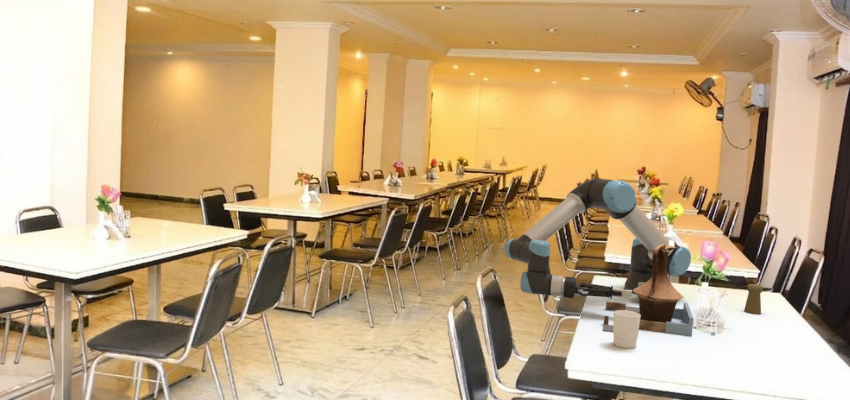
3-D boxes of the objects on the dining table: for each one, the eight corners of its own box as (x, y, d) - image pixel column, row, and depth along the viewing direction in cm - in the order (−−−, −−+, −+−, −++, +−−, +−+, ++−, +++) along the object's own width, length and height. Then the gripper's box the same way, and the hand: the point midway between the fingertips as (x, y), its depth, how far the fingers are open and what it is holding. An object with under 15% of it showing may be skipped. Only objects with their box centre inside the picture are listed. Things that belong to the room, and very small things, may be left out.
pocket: (665, 332, 235) (667, 315, 235) (662, 316, 259) (663, 299, 258) (691, 336, 233) (693, 318, 232) (685, 318, 256) (687, 302, 256)
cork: (757, 311, 277) (760, 283, 276) (763, 314, 271) (766, 286, 270) (741, 309, 277) (744, 282, 276) (747, 313, 271) (750, 285, 270)
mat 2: (622, 311, 263) (622, 310, 263) (622, 306, 270) (622, 305, 270) (650, 314, 260) (650, 313, 260) (649, 309, 268) (649, 308, 268)
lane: (603, 324, 241) (604, 316, 240) (605, 309, 264) (606, 301, 264) (665, 332, 235) (666, 323, 235) (661, 315, 259) (662, 307, 258)
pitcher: (672, 332, 236) (680, 249, 233) (622, 322, 246) (629, 242, 243) (686, 323, 250) (694, 244, 248) (639, 313, 260) (646, 238, 257)
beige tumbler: (623, 350, 212) (626, 317, 211) (605, 342, 219) (608, 310, 218) (643, 347, 216) (646, 315, 215) (625, 340, 223) (627, 309, 222)
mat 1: (602, 330, 233) (602, 330, 233) (603, 325, 240) (603, 324, 240) (634, 334, 230) (634, 334, 230) (634, 328, 238) (634, 328, 238)
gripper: (564, 293, 262) (630, 301, 256) (561, 300, 250) (630, 309, 243) (566, 273, 261) (632, 280, 255) (563, 279, 249) (632, 287, 243)
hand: (631, 294), depth 249 cm, fingers closed
